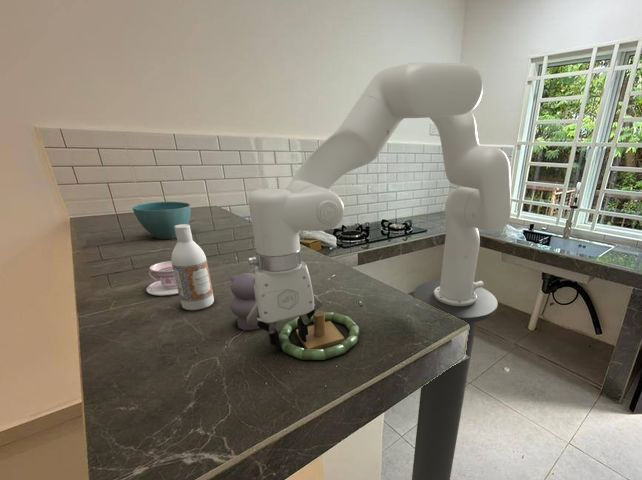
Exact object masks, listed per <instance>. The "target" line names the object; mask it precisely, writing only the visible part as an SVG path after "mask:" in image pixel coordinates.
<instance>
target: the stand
mask: <svg viewBox="0 0 642 480" xmlns="http://www.w3.org/2000/svg"><path fill="white" fill-rule="evenodd" d="M324 312H325V311H324V310H317V311H315V313H314V315H313V322H312V323H313V325H309V326H308V325H307V327H308V335H306V342H303V341H302V340H301V338H300V337H299V334H298V328H296V329H295V334H296V336H297V337H298V339H299V340H300V342H301V344H302V346H303V347H304V349H326V348H329V347H332V346H336V345H339V344H341V343H342V342H343V341H344V340H346V338H345V336H344V335H343V334H342V333H341V332H340V330H339V329H338V328H337V327H336V326H335V325H334V323H333V321H325V313H324Z"/></svg>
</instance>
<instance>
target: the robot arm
mask: <svg viewBox="0 0 642 480" xmlns="http://www.w3.org/2000/svg"><path fill="white" fill-rule="evenodd" d="M483 91H484V83H483V78H482V75H481V73H480V71H479V70H478V69H477V67H475V66H474V65H472V64H470V63H467V62H418V61H417V62H410V63H405V64H399V65H395V66H390V67H387V68H383V69H382V70H380V71H378V72H377V73H376V75H374V76H373V78H372V79H371V81H370V82H369V84H368V85H367V86H366V88H364V90H363V92H362V94H361V95H360V96H359V98H358V100H357V101H356V102H355V104H354V105H353V107H352V108H351V109H350V111H349V113H348V115H347V116H346V117H345V119H344V120H343V121H342V123H341V124H340V126H339V127H338V128H337V129H336V131H334V132H333V133H332V134H331V135H330V136H329V137H327V138H326V139H325V140H324V141H323V142H322V143H321V144H320V145H319V146H318V147H317V148H315V149H314V150H313V152H311V153H310V155H308V156H307V158H306V159H305V160H304V161H303V163H302V164H301V165H300V167H299V168H298V169H297V170H296V173H295V174H294V176H293V177H292V178H291V180H290V181H289V183H288V184H287V187H286V189H284V188H260V189H256V190H253V191H251V192H250V194H249V195H248V200H247V201H248V208H249V214H250V215H249V216H250V221H251V228H252V234H253V240H254V241H253V242H254V248H255V251H254V255H253V256H251V257H247V262H248V265H249V266H255V268H254V273H253V274H254V289H255V302H256V303H255V305H254V306H253V308H252V310H251V311H250V313H249V314H248V316H247V318H246V321H247V323H248V324H251V325H254V326H258V327H259V328H258V329H261V330H264V331H265V332H267V333H268V339H269V344H270V345H271V346H274V348H275V350H276V351H279V350H280V349H281V346H280V342H279V334H280V333H279V332H278V330H277V328H276V327H277V322H281V321H283V320H288V319H293V318H297V317H299V319H298V320H297V325H298V327H297V329H298V334H299V337H300V338H301V340H302V341H303V342H306V335H308V324H310V323H309V320H310V318H311V317H312V316H313V315H314V313H315V311H319V309H320V308H321V307H322V306H323V302H322V301H321V300H320V298H318V297H317V296H316V295H314V292H313V285H312V281H311V276H310V272H309V269H308V266H307V263H306V262H304V261H303V260H302V252H301V244H300V241H301V240H300V231H301V232H302V231H303V232H305V231H309V232H324V231H328V230H331V229H334V228H336V227H337V226H338V225H340V223H341V222H342V221H343V220H344V219H343V218H344V216H345V204H344V203H343V201H342V199H341V198H340V196H339V195H338V194H337V193H335V192H334V191H332V190H330V189H331V187H332V186H334V184H335V183H337V181H338V180H339V179H340V178H341V177H343V176H345V175H346V174H347V173H350V172H351V171H354V170H357V169H358V168H362V167H364V166H366V165H368V164H369V163H372V162H373V161H375V160H376V159H377V158H378V156H379V155H380V154H381V152H382V151H383V149H384V147H385V146H386V144H387V143H388V141H389V140H390V138H391V136H392V135H393V133H395V130H396V129H397V128H398V126H399V125H400V123H401V122H402V121H403V120H404V119H421V118H422V119H428V118H429V119H430V120H431V121H432V123H433V124H434V126H435V127H436V129H437V131H438V135H439V139H440V140H439V141H440V145H441V152H442V159H443V167H444V171H445V176H446V179H447V180H448V182H449V183H451V184H452V185H455V186H458V187H457V188H455V189H453V190H452V191H450V192H449V193H448V195H447V197H446V199H445V203H444V214H445V239H444V247H443V255H442V266H441V273H440V280H441V282H440V286H439V287H437V288H436V289H435V290H434V296H435V298H436V299H437V300H438V301H440V302H442V303H444V304H447V305H451V306H469V305H472V304H474V303H475V302H476V300H477V295H476V293H475V292H474V291H475V290H476V289H477V288H483V287H484V285H485V284H484V282H483V281H482V280H479V281H476V282H475V277H476V272H477V271H476V269H477V264H478V258H479V251H480V245H481V238H480V232H479V230H481V231H485V232H487V233H498V232H500V231H502V230H503V229H505V228H506V227H507V225H508V223H509V221H510V218H511V214H512V182H511V180H512V179H511V165H510V160H509V158H508V156H507V154H506V152H504V151H503V150H502V149H501V148H498V147H495V146H494V147H493V146H483V145H480V143H479V137H478V130H477V123H476V118H475V116H474V115H475V114H474V113H473V111H474V110H475V109H476V107H477V106H478V105H479V103H480V101H481V99H482V95H483ZM258 315H259V316H260V319H259V318H257V317H258ZM299 337H298V338H299Z"/></svg>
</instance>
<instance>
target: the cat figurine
mask: <svg viewBox="0 0 642 480" xmlns="http://www.w3.org/2000/svg"><path fill="white" fill-rule="evenodd" d="M254 274H255V273H253V272H244V273H241V274H239V275H236V274H230V273H227V276H228V278H229V280H230V282H231V284H230V290H231V292H232V294H233V298H232V299H231V301H230V305H229V307H230V310H231V312H232V313H233V315H235V316H236V317H237V318H236V324H237V326H238V328H239V329H241V330H243V331H253V330H257V329H260V328H259V327H258V326H254V325H251V324H248V323H247V321H246V318H247V316H248V314H249V313H250V311H251V310H252V308H253V306H254V305H255V303H256V302H255V289H254ZM257 318H259V319H260V316H259V315H258V317H257Z"/></svg>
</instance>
